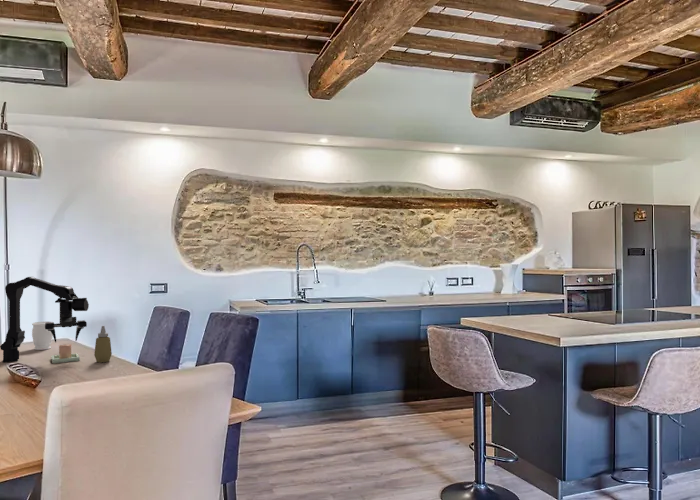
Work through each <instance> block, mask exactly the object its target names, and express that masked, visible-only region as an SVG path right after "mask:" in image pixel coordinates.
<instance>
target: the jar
mask: <svg viewBox="0 0 700 500" xmlns="http://www.w3.org/2000/svg"><path fill="white" fill-rule="evenodd" d="M50 322H51V321H36V322H32V323H31V324H32V326H33V327H32V329H31V330H32V331H31V336H32V337H31V338H32V342H33V345H34V348H33V349H34V350H35V351H42V350H43V351H44V350H50V349H51V348H52V347H51V345H52V342H53V338H54V337H53V335H52V333H51V331H48V329H45V323H50Z"/></svg>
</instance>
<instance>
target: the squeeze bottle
mask: <svg viewBox="0 0 700 500" xmlns="http://www.w3.org/2000/svg"><path fill="white" fill-rule="evenodd" d="M111 344H112V343H111V337H110V336H109V332H106V328H105V325H102V326H101V328H100V332H99V333H97V337H96V338H95V344H94V345H95V346H94V358H95V361H96V363H101V364H102V362H103V363H108V362H110V360H111V357H112V353H113V352H112V346H111Z"/></svg>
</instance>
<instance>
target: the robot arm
mask: <svg viewBox="0 0 700 500" xmlns="http://www.w3.org/2000/svg"><path fill="white" fill-rule="evenodd" d="M30 286H32V287H34V288H37V289H41V290H43V291H46V292H47V291H48V292H50V293H52V294H53V295H55V296H57V297H58V298H57V299H56V300H55V302H54V303H58V304H59V323H58V322H57V323H54V322H53V321H49V322H50V323H45V329H48V331H51V333H52V335H53V337H52V338H53V339H54V342H55V343H57V336H56V330H55V328H72V327H76V330H75V342H77V340H78V337H79V334H80V333H81V330H83V329H84V328H87V324H88V323H87V321H86V320H85V319H84V320H77V316H73V311H74V312H87V311H88V310H89V308H90V307H89V305H90V304H89V301H88V298H87V297H78V296H77V294H76V293H75V290H74V289H73V287H72V286H68V285H63V284H62V285H61V284H60V285H59V284H55V283H52V282H48V281H45V280H43V279H39V278H37V277H34V276H27V277H25V278H23V279H21V280H17V281H14V282H9V283H7V284H6V285H5V288H4V290H5V295H6V297H7V299H8V313H9V314H8V320H9V321H8V326H9V327H8V329H7V332H6V335H5V340H4V342H3V343H1V345H0V351H2V363H8V361H11V362H19V359H20V350H19V348H20V347H21V345H22V343H24V340H25V339H26V337H25V334H26V331H25V330H22V328H21V299H22V297H23V294H24V290H25V289H27V288H29V287H30Z"/></svg>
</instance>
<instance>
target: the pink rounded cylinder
mask: <svg viewBox="0 0 700 500" xmlns="http://www.w3.org/2000/svg"><path fill="white" fill-rule="evenodd" d="M71 354H72V343H71V344H70V343H67V344H59V345H58V355H59V359H63V358H71Z"/></svg>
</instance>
